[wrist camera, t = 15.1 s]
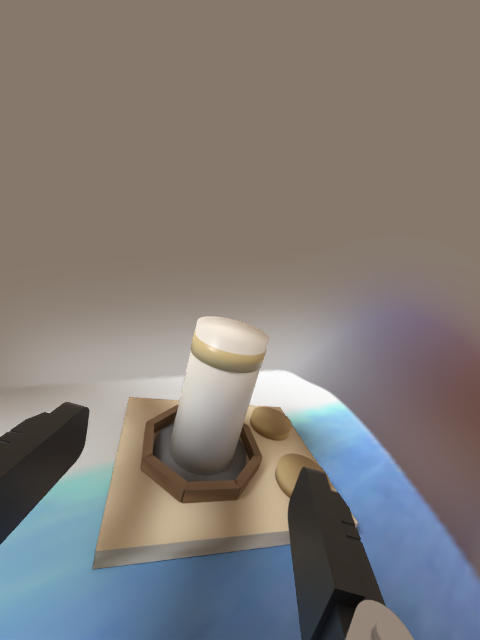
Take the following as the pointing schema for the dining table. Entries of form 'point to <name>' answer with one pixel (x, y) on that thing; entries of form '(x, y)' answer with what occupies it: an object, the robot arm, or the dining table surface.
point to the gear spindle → (216, 394)
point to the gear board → (198, 490)
